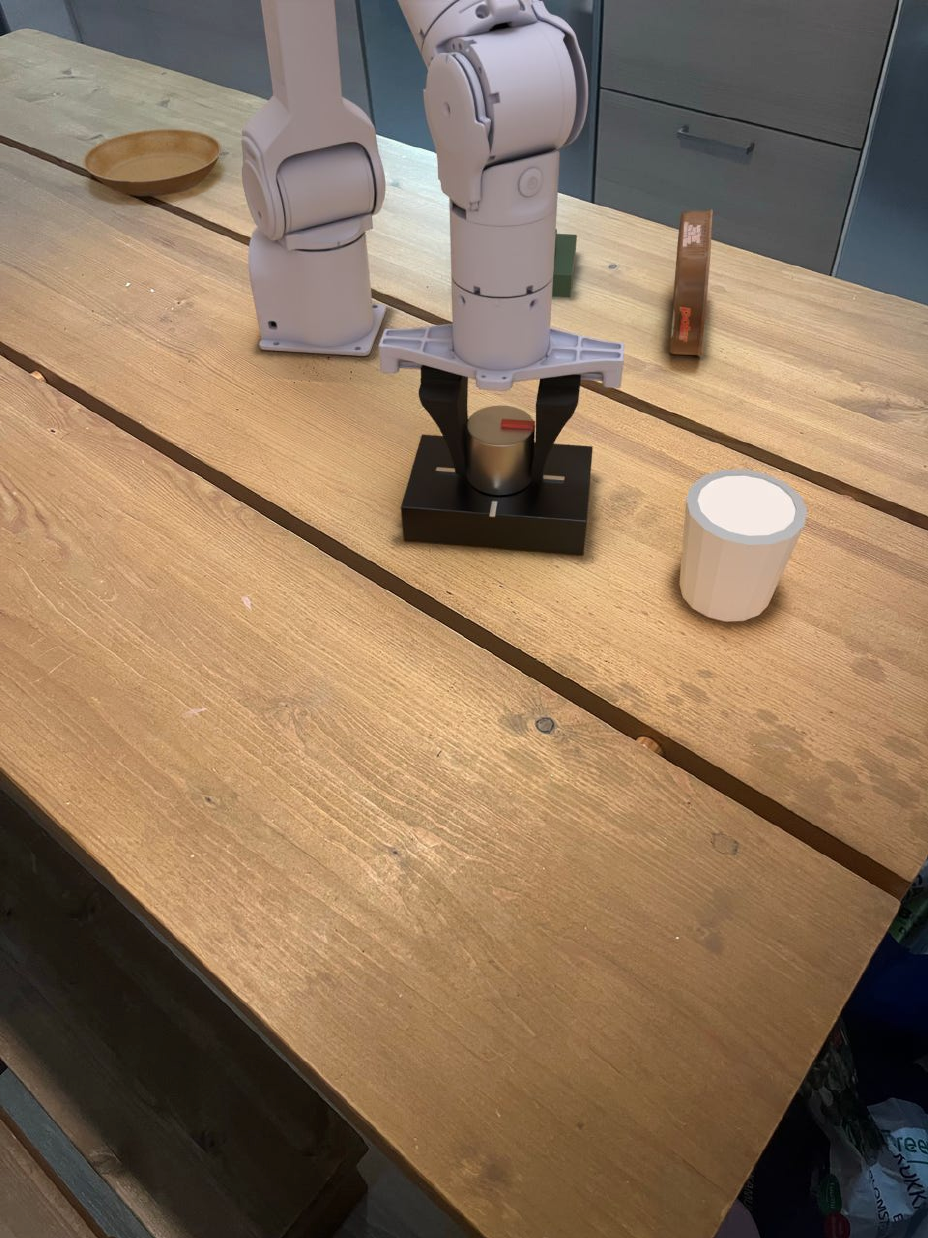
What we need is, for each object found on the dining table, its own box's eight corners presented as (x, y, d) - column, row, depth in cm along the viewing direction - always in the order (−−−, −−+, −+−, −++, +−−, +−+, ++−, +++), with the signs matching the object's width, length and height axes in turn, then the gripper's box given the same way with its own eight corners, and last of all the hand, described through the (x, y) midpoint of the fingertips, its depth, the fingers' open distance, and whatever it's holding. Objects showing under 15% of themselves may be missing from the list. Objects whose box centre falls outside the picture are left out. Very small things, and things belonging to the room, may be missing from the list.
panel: (402, 544, 64) (399, 507, 61) (424, 465, 69) (422, 429, 67) (583, 559, 62) (586, 522, 60) (589, 477, 68) (593, 441, 66)
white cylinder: (757, 645, 57) (784, 559, 52) (652, 602, 59) (667, 517, 54) (795, 576, 61) (824, 490, 56) (694, 539, 63) (713, 453, 58)
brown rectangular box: (699, 376, 77) (717, 277, 71) (659, 372, 77) (674, 273, 71) (704, 286, 87) (721, 192, 81) (669, 283, 87) (683, 190, 81)
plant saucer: (163, 142, 113) (158, 118, 111) (253, 169, 107) (249, 145, 105) (62, 185, 105) (54, 160, 103) (152, 217, 99) (146, 192, 97)
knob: (462, 492, 62) (461, 438, 59) (471, 452, 65) (471, 398, 62) (529, 498, 62) (531, 444, 59) (535, 457, 65) (538, 403, 62)
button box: (460, 291, 87) (459, 249, 84) (472, 251, 92) (471, 210, 89) (570, 297, 86) (573, 255, 83) (575, 256, 91) (578, 215, 88)
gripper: (360, 301, 51) (380, 497, 61) (631, 316, 50) (607, 515, 60) (385, 242, 56) (400, 433, 66) (633, 254, 55) (611, 447, 64)
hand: (499, 468), depth 63 cm, fingers closed on knob, 4 cm apart
